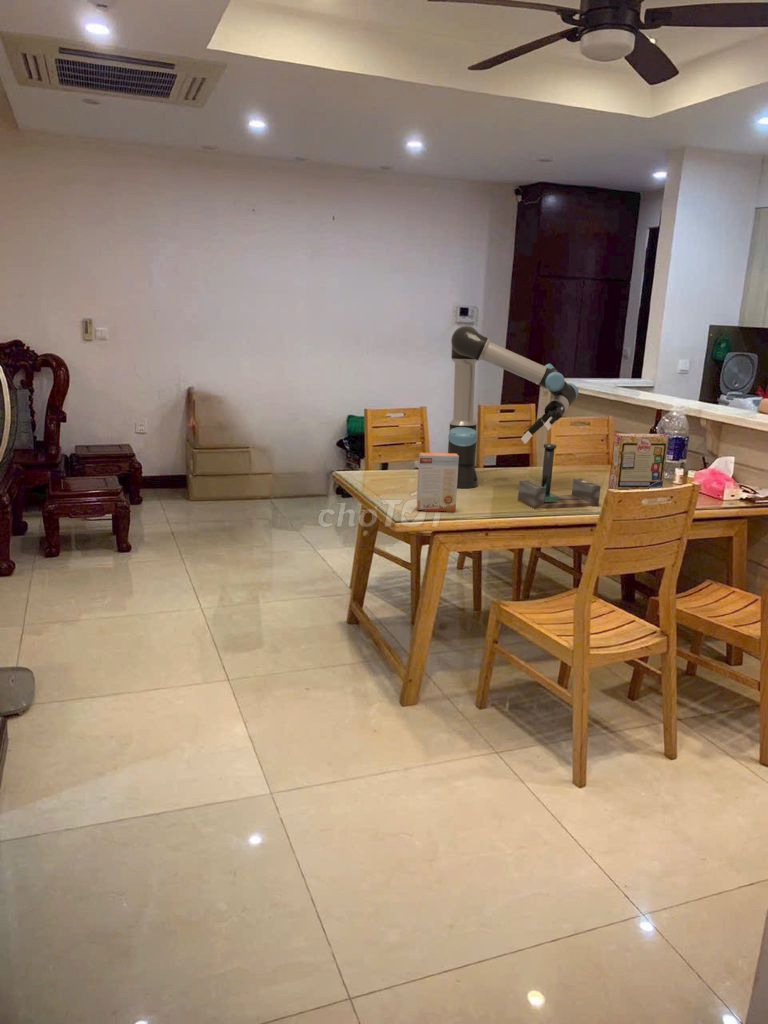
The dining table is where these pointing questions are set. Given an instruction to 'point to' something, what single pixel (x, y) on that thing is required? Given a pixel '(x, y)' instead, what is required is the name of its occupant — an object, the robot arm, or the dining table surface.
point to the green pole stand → (548, 472)
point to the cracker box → (437, 481)
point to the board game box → (638, 461)
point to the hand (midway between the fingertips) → (534, 435)
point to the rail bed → (581, 495)
